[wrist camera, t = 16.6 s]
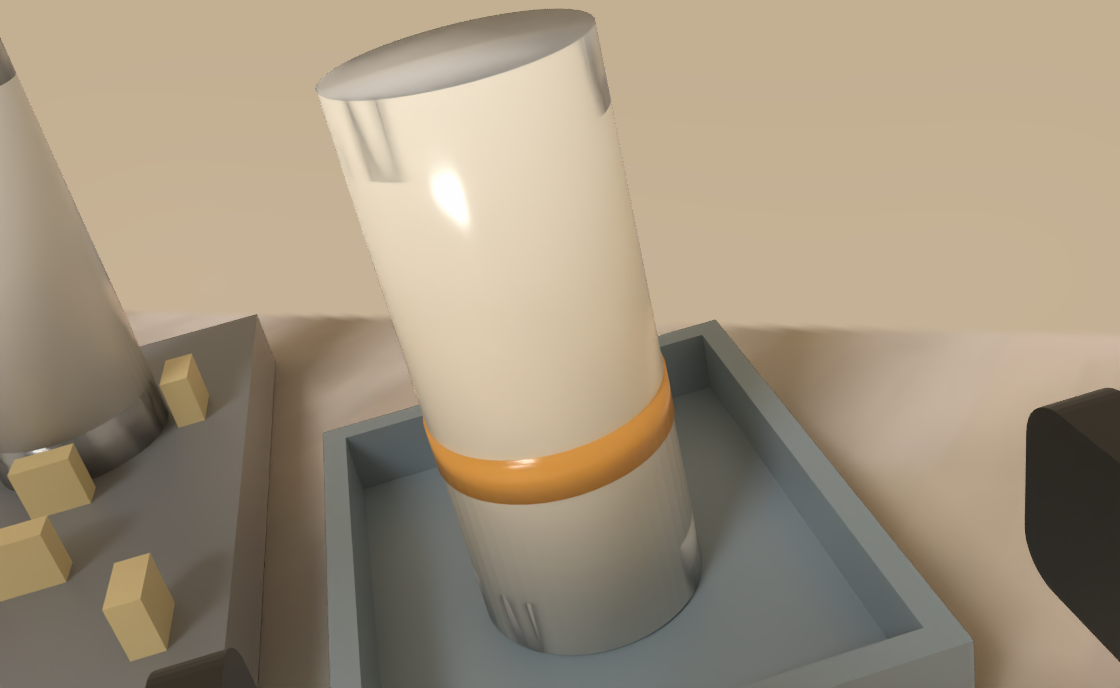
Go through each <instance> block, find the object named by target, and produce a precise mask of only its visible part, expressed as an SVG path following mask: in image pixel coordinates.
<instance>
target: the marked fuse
mask: <svg viewBox="0 0 1120 688" xmlns="http://www.w3.org/2000/svg"><path fill="white" fill-rule="evenodd" d="M316 92H317V95H318V98H319V101H320V104H321V107H322V110H323V113H324V116H325V119H326V122H327V125H328V128H329V131H330V135H331V137H332V140H333V144H334V146H335V150H336V152H337V156H338V158H339V162H340V165H341V168H342V171H343V174H344V177H345V180H346V183H347V186H348V189H349V192H350V195H351V198H352V201H353V204H354V207H355V210H356V213H357V216H358V219H359V223H360V226H361V229H362V232H363V235H364V238H365V241H366V244H367V247H368V250H369V253H370V256H371V259H372V262H373V265H374V268H375V271H376V274H377V277H378V280H379V283H380V286H381V289H382V292H383V295H384V298H385V301H386V304H387V308H388V310H389V313H390V317H391V320H392V323H393V326H394V329H395V332H396V335H397V338H398V341H399V344H400V347H401V350H402V353H403V356H404V359H405V362H406V365H407V368H408V371H409V374H410V377H411V380H412V383H413V386H414V389H415V393H416V396H417V399H418V402H419V405H420V408H421V411H422V414H423V424H424V428H425V431H426V434H427V437H428V440H429V443H430V446H431V449H432V452H433V455H434V458H435V461H436V464H437V467H438V470H439V472H440V474H441V476H442V477H443V479H444V481H445V484H446V487H447V490H448V493H449V496H450V499H451V502H452V505H453V508H454V511H455V514H456V517H457V520H458V523H459V526H460V529H461V532H462V535H463V538H464V541H465V544H466V547H467V550H468V553H469V556H470V559H471V562H472V566H473V569H474V572H475V575H476V578H477V581H478V584H479V587H480V590H481V593H482V596H483V599H484V602H485V605H486V608H487V611H488V614H489V616H490V618H491V620H492V622H493V623H494V625H495V626H496V627H497V628H498V629H499V631H500V632H501V633H503V634H504V635H505V636H506V637H507V638H509V639H510V640H512V641H514V642H515V643H517V644H519V645H521V646H523V647H526V648H528V649H531V650H535V651H538V652H542V653H548V654H554V655H587V654H594V653H600V652H605V651H609V650H613V649H616V648H620V647H622V646H625V645H628V644H631V643H633V642H635V641H638V640H640V639H642V638H644V637H646V636H648V635H649V634H651V633H653V632H654V631H656V630H658V629H659V628H661V627H662V626H663V625H665V624H666V623H667V622H669V621H670V620H671V619H672V618H673V617H674V616H675V615H676V614H677V613H679V612H680V611H681V610H682V608H683V607H684V606H685V605H686V603H687V602H688V601H689V599H690V598H691V596H692V594H693V593H694V591H695V589H696V587H697V584H698V582H699V579H700V574H701V569H702V558H701V552H700V547H699V542H698V537H697V532H696V527H695V522H694V517H693V512H692V507H691V502H690V497H689V492H688V486H687V481H686V476H685V471H684V466H683V461H682V456H681V451H680V446H679V441H678V436H677V431H676V426H675V421H674V412H675V409H674V404H673V398H672V393H671V388H670V383H669V378H668V373H667V368H666V363H665V359H664V357H663V355H662V353H661V350H660V345H659V340H658V335H657V330H656V325H655V320H654V315H653V310H652V305H651V300H650V295H649V290H648V285H647V280H646V275H645V270H644V265H643V260H642V254H641V249H640V245H639V239H638V235H637V229H636V225H635V220H634V214H633V210H632V204H631V199H630V194H629V189H628V184H627V179H626V174H625V169H624V164H623V159H622V154H621V148H620V143H619V138H618V134H617V129H616V123H615V118H614V113H613V108H612V104H611V98H610V93H609V88H608V83H607V78H606V73H605V68H604V63H603V58H602V53H601V48H600V43H599V38H598V32H597V28H596V22H595V18H594V17H593V16H592V15H591V14H589V13H587V12H584V11H580V10H572V9H541V10H529V11H520V12H512V13H506V14H499V15H494V16H488V17H484V18H478V19H473V20H469V21H464V22H460V23H456V24H452V25H448V26H444V27H440V28H436V29H433V30H429V31H426V32H423V33H419V34H416V35H413V36H409V37H406V38H403V39H400V40H397V41H394V42H392V43H389V44H386V45H383V46H381V47H378V48H376V49H373V50H371V51H368V52H366V53H364V54H362V55H359V56H357V57H355V58H353V59H351V60H349V61H347V62H345V63H343V64H341V65H340V66H338V67H336V68H334V69H333V70H332V71H330V72H329V73H327V74H326V75H325V76H324V77H323V78H321V79H320V81H319V82H318V83H317V85H316Z"/></svg>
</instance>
